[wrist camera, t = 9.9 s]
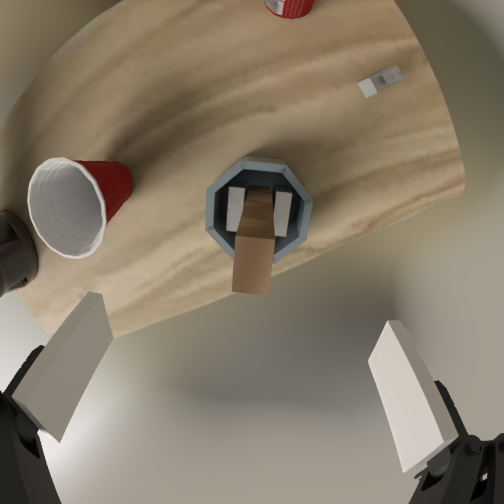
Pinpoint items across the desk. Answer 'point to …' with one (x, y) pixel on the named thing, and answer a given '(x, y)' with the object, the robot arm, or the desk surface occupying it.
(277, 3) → the soda can
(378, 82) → the lighter
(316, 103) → the desk surface
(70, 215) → the plastic cup
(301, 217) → the grey faceted bowl
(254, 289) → the brown wooden block
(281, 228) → the clip
